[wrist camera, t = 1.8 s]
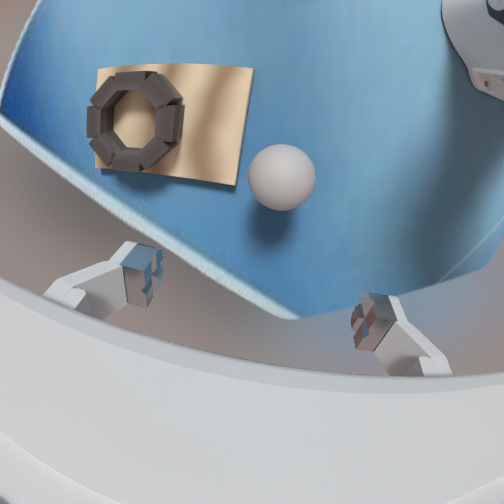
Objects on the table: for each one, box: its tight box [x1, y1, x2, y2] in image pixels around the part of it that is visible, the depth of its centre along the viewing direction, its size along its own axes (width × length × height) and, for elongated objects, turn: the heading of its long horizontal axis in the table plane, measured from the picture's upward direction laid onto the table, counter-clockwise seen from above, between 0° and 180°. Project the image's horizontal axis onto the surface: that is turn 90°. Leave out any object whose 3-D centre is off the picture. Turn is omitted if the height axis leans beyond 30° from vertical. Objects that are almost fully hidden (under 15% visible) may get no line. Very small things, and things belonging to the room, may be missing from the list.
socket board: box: [87, 64, 254, 185], centre depth 28 cm, size 20×14×4 cm
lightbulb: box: [248, 144, 316, 211], centre depth 27 cm, size 6×6×11 cm
